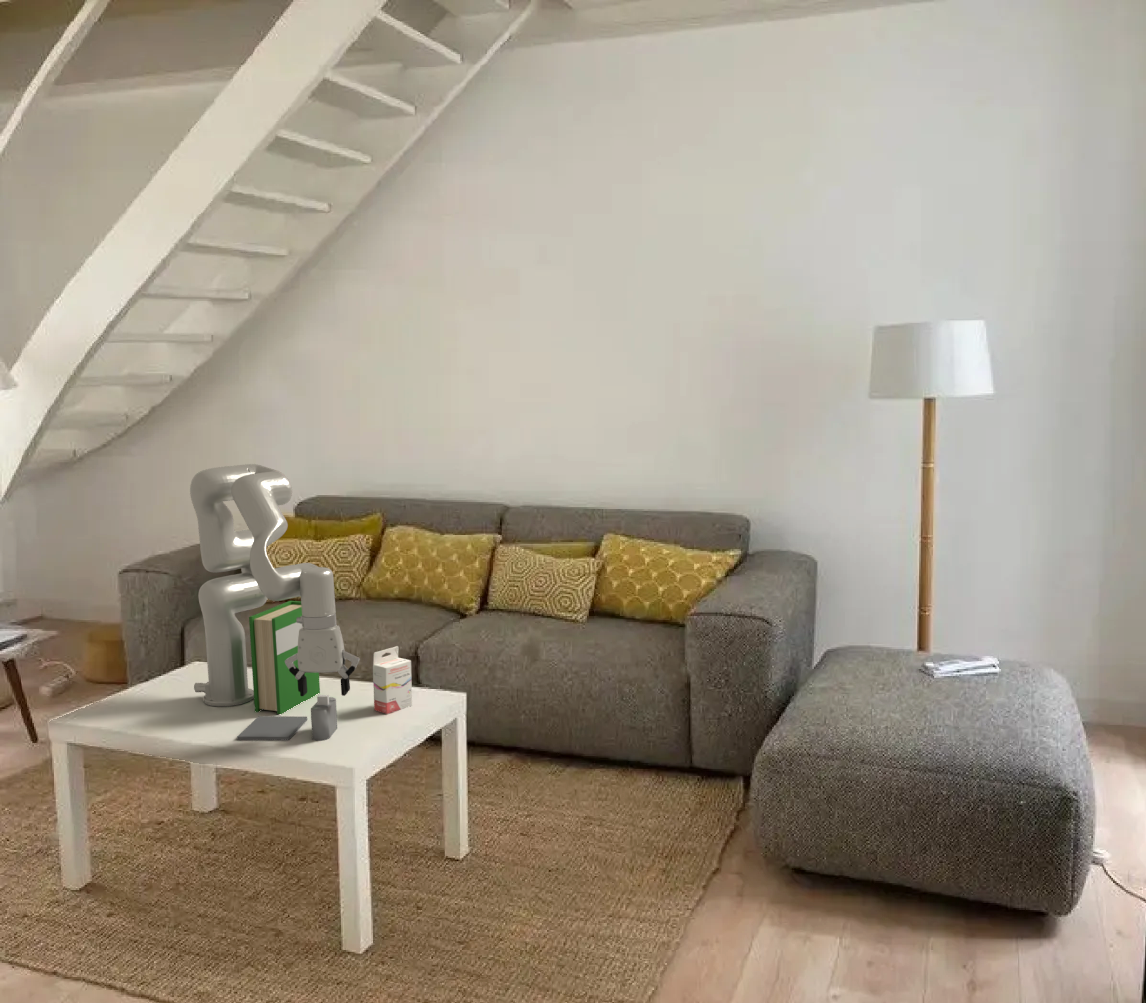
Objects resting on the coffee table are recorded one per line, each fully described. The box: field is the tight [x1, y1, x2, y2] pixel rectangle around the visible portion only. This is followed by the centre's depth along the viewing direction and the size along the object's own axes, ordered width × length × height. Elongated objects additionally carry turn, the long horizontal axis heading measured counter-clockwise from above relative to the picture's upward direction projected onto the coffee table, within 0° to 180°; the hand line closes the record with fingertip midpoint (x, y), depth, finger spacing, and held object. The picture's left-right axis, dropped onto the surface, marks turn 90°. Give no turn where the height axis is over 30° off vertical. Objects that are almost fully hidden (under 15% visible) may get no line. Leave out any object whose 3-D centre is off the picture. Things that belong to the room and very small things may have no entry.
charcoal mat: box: [236, 715, 308, 741], centre depth 268 cm, size 12×14×1 cm
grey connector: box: [310, 694, 338, 742], centre depth 265 cm, size 4×10×9 cm, turn 176°
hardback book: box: [248, 600, 321, 715], centre depth 287 cm, size 18×7×24 cm, turn 160°
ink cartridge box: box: [372, 645, 413, 715], centre depth 281 cm, size 9×5×15 cm, turn 141°
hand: (324, 694), depth 264 cm, fingers open, 9 cm apart
